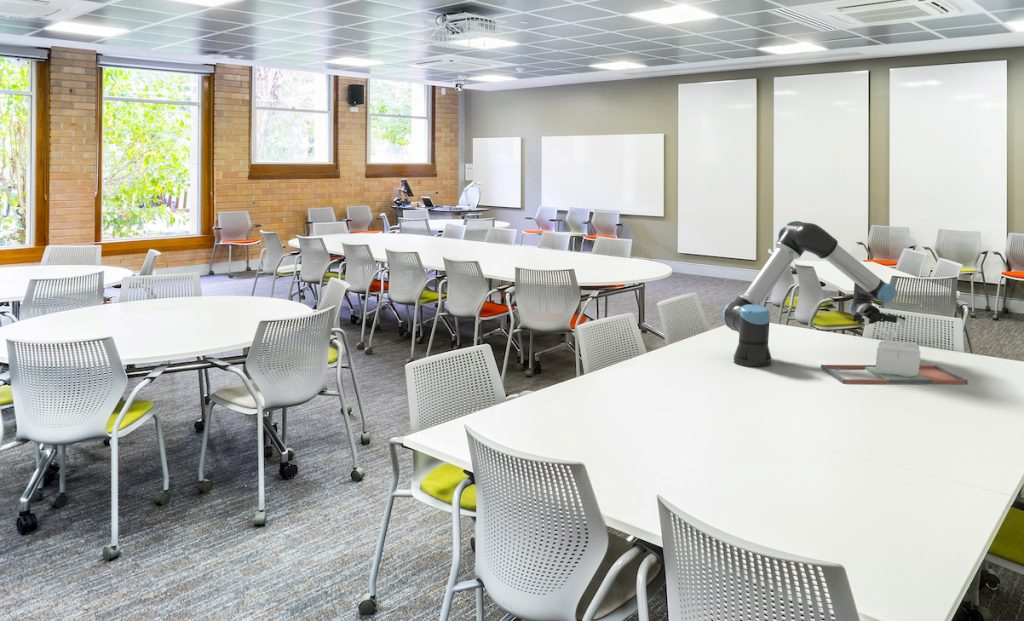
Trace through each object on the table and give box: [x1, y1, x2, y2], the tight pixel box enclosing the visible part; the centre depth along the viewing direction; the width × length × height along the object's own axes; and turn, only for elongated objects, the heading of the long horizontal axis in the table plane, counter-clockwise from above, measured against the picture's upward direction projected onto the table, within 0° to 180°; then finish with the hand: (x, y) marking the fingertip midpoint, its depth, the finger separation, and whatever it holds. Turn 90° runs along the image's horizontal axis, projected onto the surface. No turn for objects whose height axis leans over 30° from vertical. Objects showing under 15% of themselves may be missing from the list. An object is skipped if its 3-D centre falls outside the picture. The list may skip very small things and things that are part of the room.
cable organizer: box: [875, 339, 921, 377], centre depth 305 cm, size 15×11×12 cm
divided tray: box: [820, 364, 969, 385], centre depth 306 cm, size 46×23×1 cm, turn 89°
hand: (885, 322), depth 315 cm, fingers open, 13 cm apart
